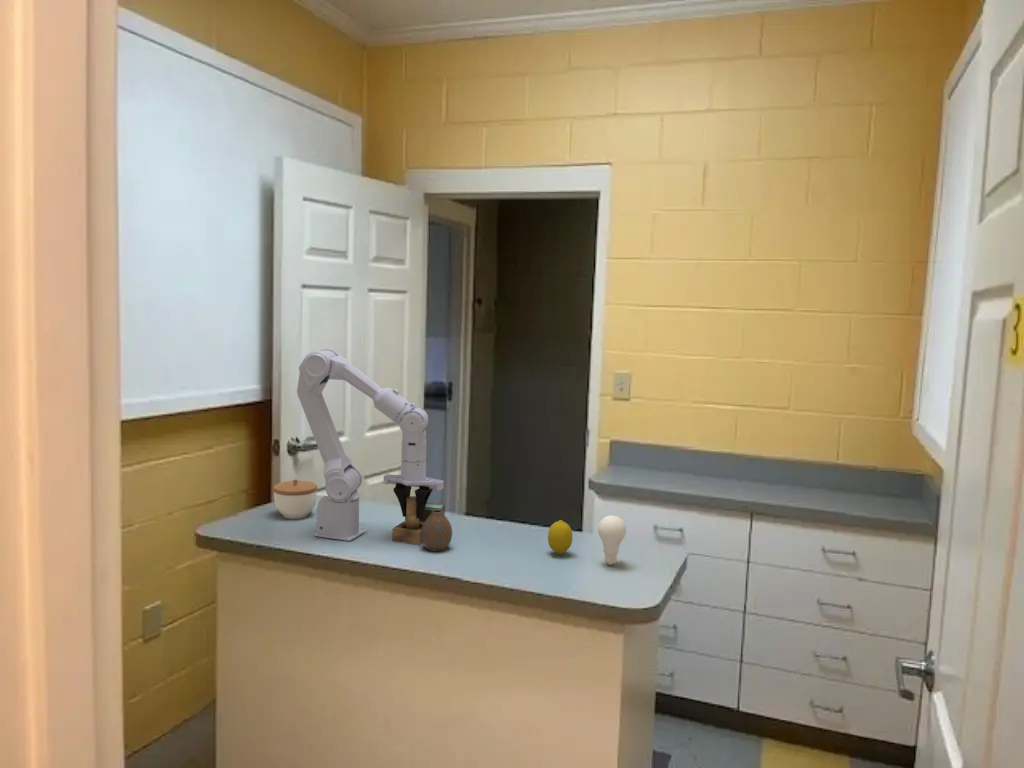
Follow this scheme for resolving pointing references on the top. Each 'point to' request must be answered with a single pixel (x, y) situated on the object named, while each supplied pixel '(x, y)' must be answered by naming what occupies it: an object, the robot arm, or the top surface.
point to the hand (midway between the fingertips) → (412, 516)
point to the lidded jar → (295, 498)
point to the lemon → (560, 537)
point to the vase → (436, 531)
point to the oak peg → (411, 513)
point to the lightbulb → (611, 536)
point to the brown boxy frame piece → (412, 535)
